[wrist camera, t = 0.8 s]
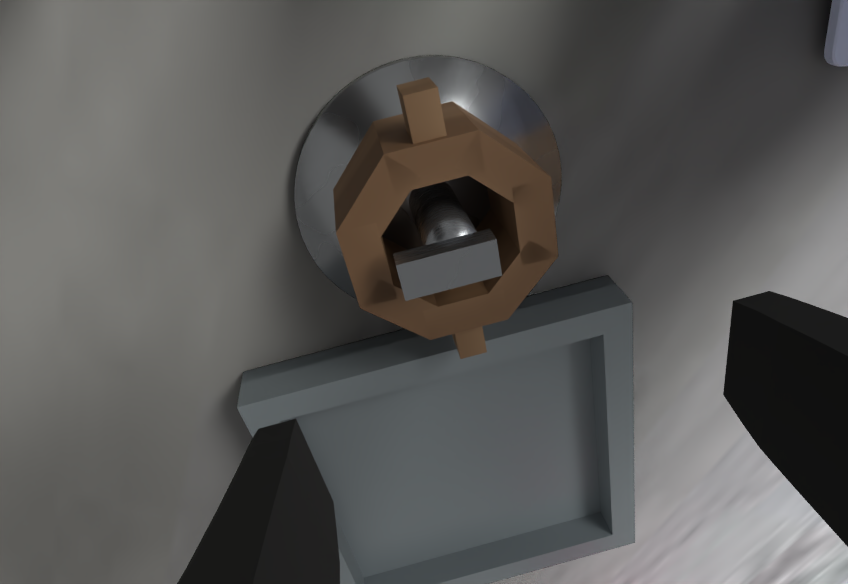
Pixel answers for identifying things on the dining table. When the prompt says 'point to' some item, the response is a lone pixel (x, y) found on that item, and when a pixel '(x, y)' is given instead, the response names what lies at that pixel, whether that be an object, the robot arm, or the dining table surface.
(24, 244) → the dining table surface
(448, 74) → the grey round piece
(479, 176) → the ring
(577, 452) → the tray
